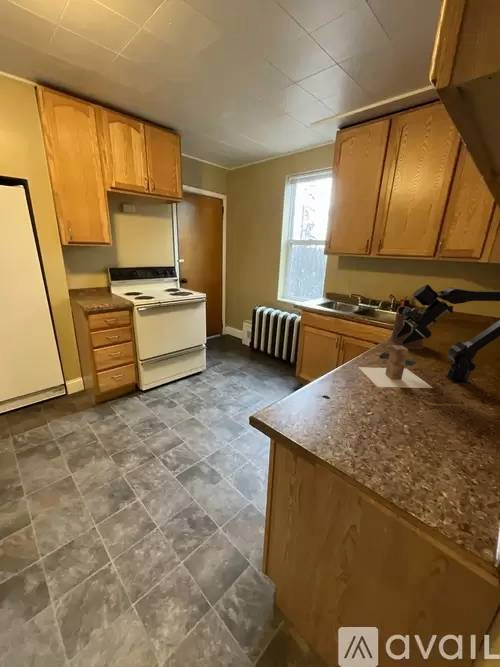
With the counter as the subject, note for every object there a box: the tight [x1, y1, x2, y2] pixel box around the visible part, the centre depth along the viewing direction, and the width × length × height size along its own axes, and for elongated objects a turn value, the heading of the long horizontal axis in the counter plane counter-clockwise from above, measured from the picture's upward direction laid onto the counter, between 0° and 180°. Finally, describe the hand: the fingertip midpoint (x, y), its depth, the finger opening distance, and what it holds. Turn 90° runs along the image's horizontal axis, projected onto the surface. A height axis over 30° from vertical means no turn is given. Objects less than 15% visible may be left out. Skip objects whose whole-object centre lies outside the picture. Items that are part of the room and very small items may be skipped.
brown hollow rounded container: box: [387, 305, 439, 350], centre depth 156 cm, size 18×24×25 cm
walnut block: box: [385, 344, 409, 379], centre depth 114 cm, size 4×4×13 cm
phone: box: [378, 352, 417, 367], centre depth 136 cm, size 8×1×15 cm
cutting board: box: [358, 366, 434, 389], centre depth 116 cm, size 22×18×1 cm
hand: (399, 339), depth 119 cm, fingers open, 9 cm apart
